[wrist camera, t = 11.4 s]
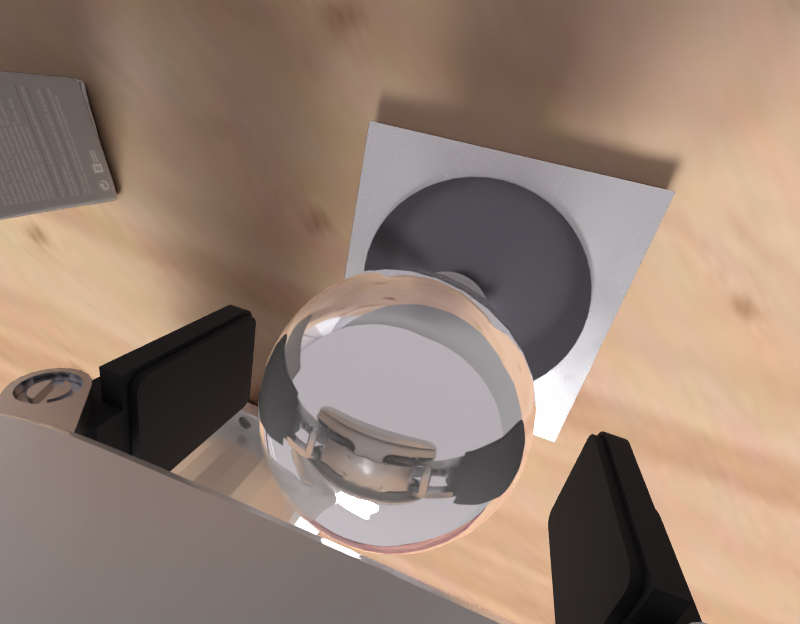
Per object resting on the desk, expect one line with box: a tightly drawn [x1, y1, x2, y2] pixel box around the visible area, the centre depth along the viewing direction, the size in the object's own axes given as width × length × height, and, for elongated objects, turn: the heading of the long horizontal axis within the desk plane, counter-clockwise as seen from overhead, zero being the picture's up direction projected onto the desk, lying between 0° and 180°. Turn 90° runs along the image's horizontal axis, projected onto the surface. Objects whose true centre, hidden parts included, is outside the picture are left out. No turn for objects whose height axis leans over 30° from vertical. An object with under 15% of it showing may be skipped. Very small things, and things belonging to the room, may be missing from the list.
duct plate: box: [345, 121, 675, 442], centre depth 18 cm, size 12×12×1 cm
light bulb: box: [258, 267, 537, 555], centre depth 13 cm, size 7×7×12 cm
